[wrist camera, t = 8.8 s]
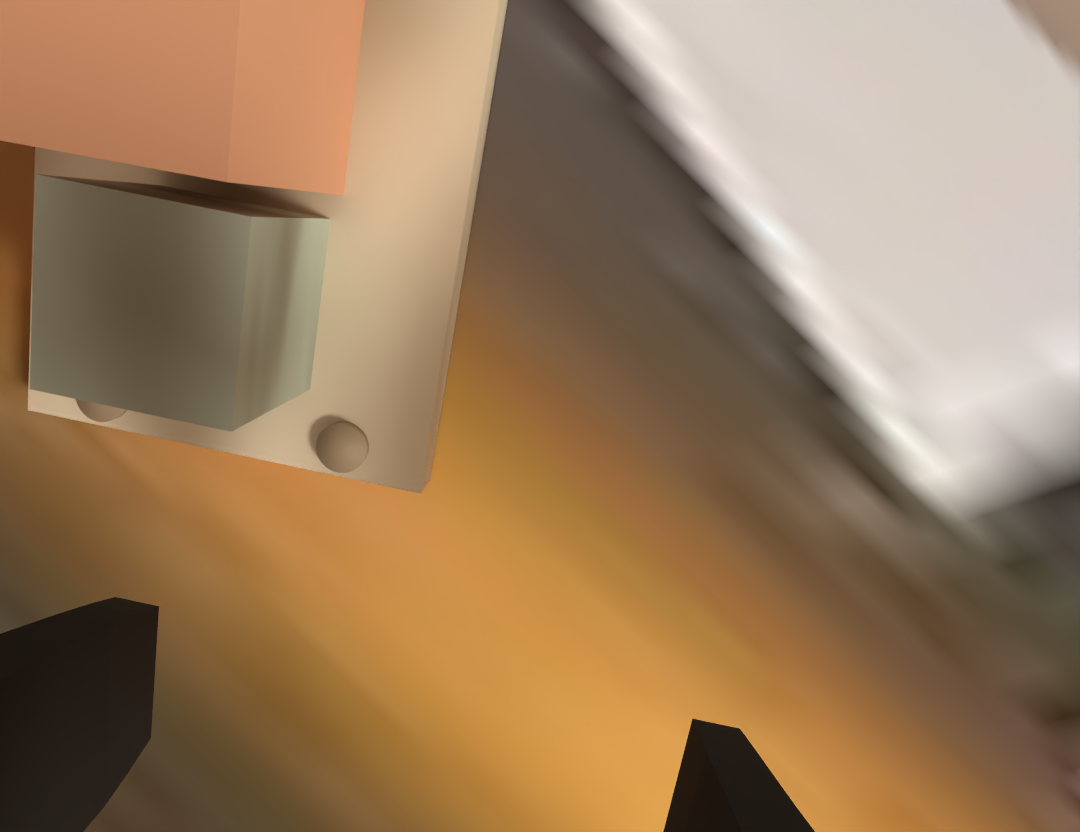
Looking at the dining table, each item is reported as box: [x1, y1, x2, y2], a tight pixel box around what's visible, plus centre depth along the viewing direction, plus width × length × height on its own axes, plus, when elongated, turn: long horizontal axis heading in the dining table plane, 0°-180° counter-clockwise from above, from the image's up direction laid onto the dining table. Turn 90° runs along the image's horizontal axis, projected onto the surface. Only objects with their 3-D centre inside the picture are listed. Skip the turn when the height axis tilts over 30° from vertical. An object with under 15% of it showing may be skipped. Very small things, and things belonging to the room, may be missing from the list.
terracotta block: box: [0, 0, 365, 195], centre depth 15 cm, size 4×4×6 cm
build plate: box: [28, 0, 508, 493], centre depth 16 cm, size 10×18×5 cm, turn 169°
